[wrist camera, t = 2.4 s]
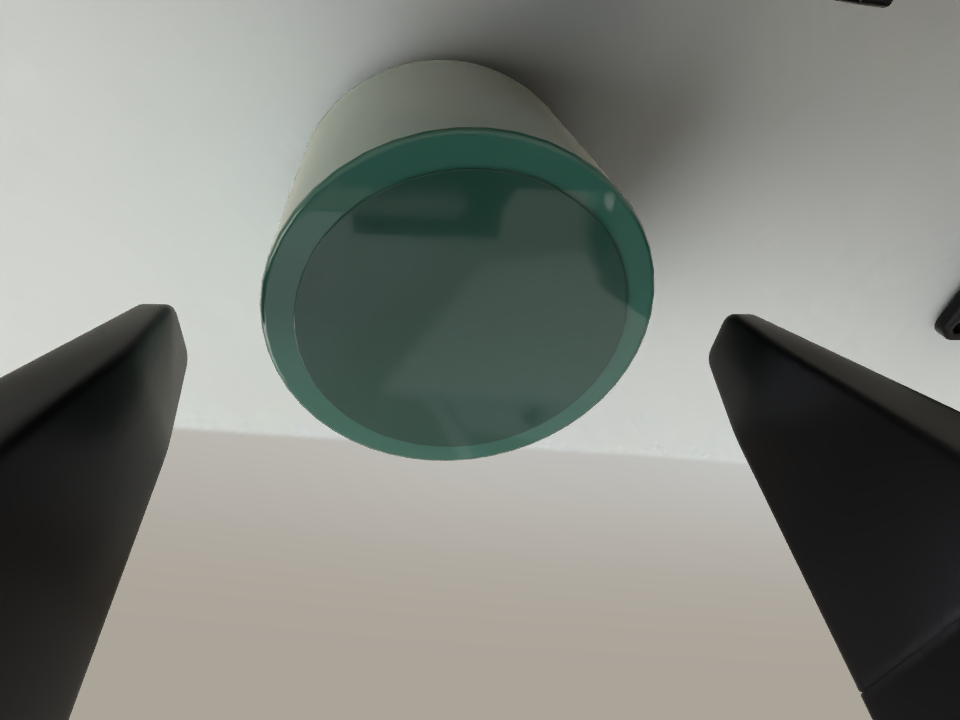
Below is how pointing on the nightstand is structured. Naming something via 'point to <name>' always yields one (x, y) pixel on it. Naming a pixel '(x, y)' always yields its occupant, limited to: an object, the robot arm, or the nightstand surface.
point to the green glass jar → (452, 268)
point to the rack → (870, 2)
